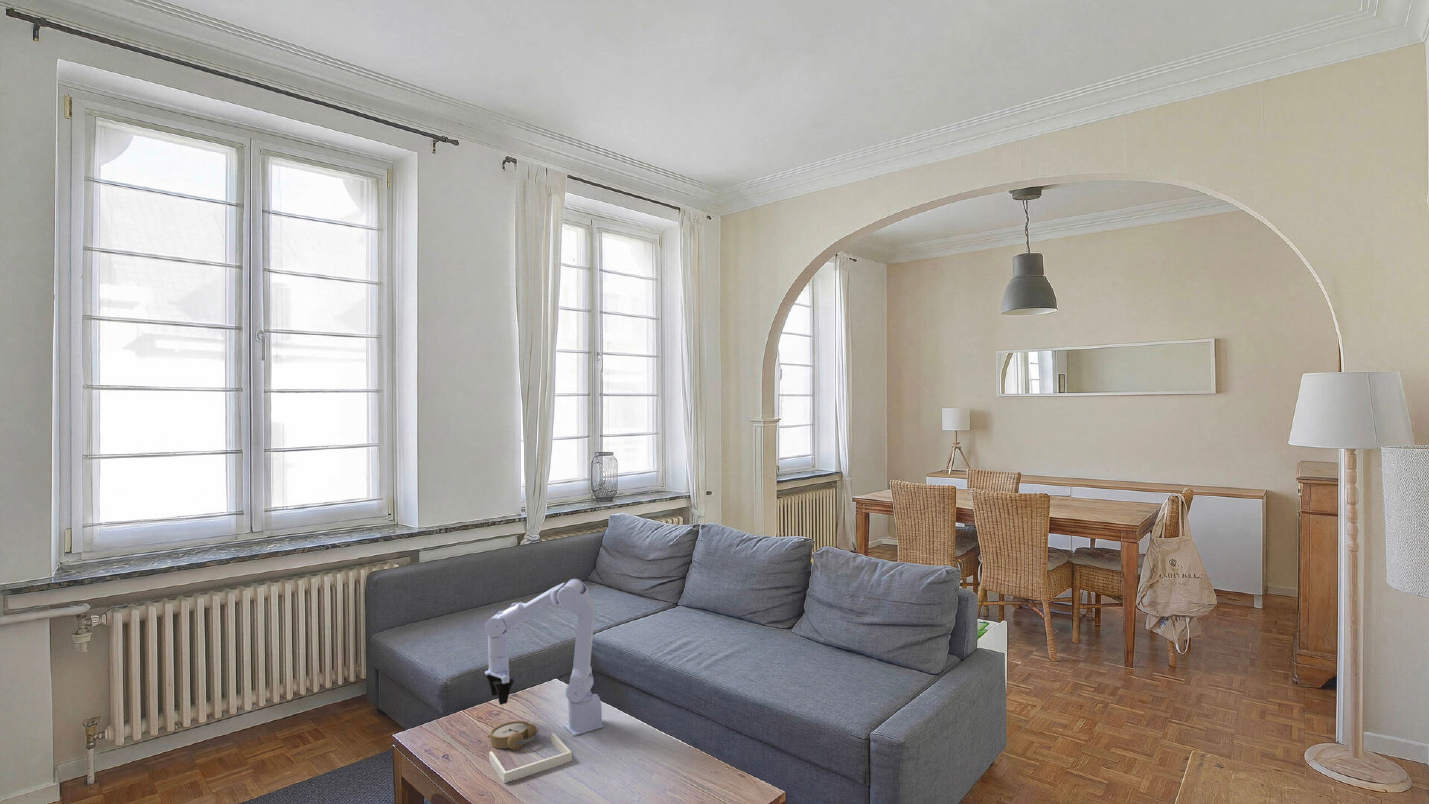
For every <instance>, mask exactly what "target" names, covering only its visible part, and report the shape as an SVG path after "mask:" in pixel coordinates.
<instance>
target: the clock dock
mask: <svg viewBox="0 0 1429 804" xmlns="http://www.w3.org/2000/svg"><path fill="white" fill-rule="evenodd" d="M550 739H551V743H552V745H553V746H554V745H555V746H556V747H557V748H558V749H559V750H558V749H557V748H556V747H555V746H554V747H555V748H556V749H557V750H558V751H559V754H558V755H557V754H556V755H554V756H550V757H548V758H543V759H542V760H541V759H540V760H537V761H535V762H531V763H528V764H525V765H521V766H519V767H517V768H512V769H510V770H506V769H505V768H504V766H503V765H502V763H501V762H500V760H499V759H498V758H497V756H496V755H495V753H494V752H493V751H492V750H491V751H489V752H488V759H489V763H490V764H491V766H492V767H493V768H494V770H495V771H496V772H495V773H497V775H498V776H499V777H500V780H501V781H502V783H503V784H506V783H509V781H510V782H513V781H516V780H520V779H522V778H525V777H529V776H531V775H534V774H537V773H540V772H543V771H546V770H550V769H553V768H556V767H558V766H562V765H564V763H565V764H568V763H571V762H573V752H572V751H571V750H570V748H569V747H567V745H566V744H565V743H564V742H563V741H562V740H561V738H559V736H558V735H556V734H555V733H554V732H551V734H550ZM570 761H571V762H570ZM567 762H568V763H567ZM512 780H513V781H512Z"/></svg>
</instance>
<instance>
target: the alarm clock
mask: <svg viewBox="0 0 1429 804" xmlns="http://www.w3.org/2000/svg"><path fill="white" fill-rule="evenodd" d="M538 733H539V731H538V729H537V726H536V725H535V724H534V723H529V722H528V721H525V720H514V721H513V720H512V721H510V722H509V721H507V722H505V723H501V724H499V725H497V726H496V727H494V728H492V729H491V730H490V732H489V735H487V738H488V739H489V738H490V745H491V747H493V748H494V749H495V748H496V749H509V750H512V751H517V750H519V749H521V747H523V745H526V744H529V743H530V742H534V741H535V740H537V738H538Z"/></svg>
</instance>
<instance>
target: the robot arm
mask: <svg viewBox="0 0 1429 804" xmlns="http://www.w3.org/2000/svg"><path fill="white" fill-rule="evenodd" d="M549 604H553V605H554V606H558V605H560V606H561V607H563V608H565V609H566V610H568V611H570V612H573V614H575V616H576V617H577V620H576V621H577V624H576V631H575V633H576V634H575V644H574V654H573V664H572V665H573V666H572V671H571V674H570V678H569V684H568V685H567V686H566V688H565V689H566V690H565V697H566V699H567V701H568V703H567V704H568V706H567V707H568V723H566V724H564V725H563V726H564V728H565V729H566V728H567V729H566V730H567V731H568V732H569V733H570V734H571V735H572V736H574V737H575V736H579V735H582V734H586V733H588V732H592V731H596V730H599V729H601V728H604V725H603V719H602V718H603V717H602V716H603V713H602V710H603V709H602V702H601V698H600V696H599V695H598V694H597V693H592V690H591V689H592V687H594V682H595V681H594V680H595V679H594V676H593V673H592V671H593V669H592V666H591V659H592V647H593V638H594V628H595V627H594V625H595V616H596V606H595V605H594V602H593V600H592V598H591V596H590V593H589V588H588V586H587V585H586V584H585V582H583V581H582V580H580V579H578V578H572V579H569V580H568V581H567V582H562V583H560V584H557V585H555V586H554V587H552V588H550V589H548V590H547V591H545V592H543V593H541V594H540V595H538V596H537V597H534V598H533V599H531V600H529V601H528V602H526V603H524V602H521V601H518V602H513V603H511V604H510V607H508V608H506V609H505V610H501V609H500V611H498V612H497V613H496V614H494V615H493V616H492V617H491V618H489V619H487V621H486V623H485V625H484V632H485V634H486V635H487V647H488V649H487V650H488V651H487V653H488V670H485V671H484V675H485V677H486V679H487V682H488V685H489V688H490V693H491V696H492V697H495V696H497V698H498V703H499V705H501V706H502V705H505V704H507V703H508V700H509V696H510V692H511V689H512V686H513V684H514V679H513V678H510V667H509V646H508V645H509V644H508V643H509V642H508V639H509V638H508V630H512V628H514V627H516V626H518V625H520V624H522V623H524V622H526V621H527V620H528V619H529V618H530V614H531V613H533V612H536V611H537V610H540V609H542V607H545V606H547V605H549Z"/></svg>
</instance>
